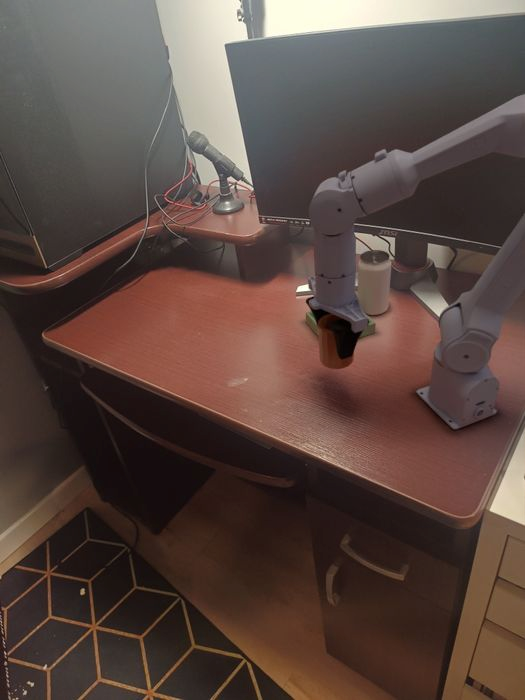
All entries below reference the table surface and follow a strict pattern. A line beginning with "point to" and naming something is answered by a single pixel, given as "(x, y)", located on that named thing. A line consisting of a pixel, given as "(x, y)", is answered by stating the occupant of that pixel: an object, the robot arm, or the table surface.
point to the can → (374, 281)
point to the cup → (330, 345)
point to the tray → (312, 323)
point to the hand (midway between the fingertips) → (336, 346)
